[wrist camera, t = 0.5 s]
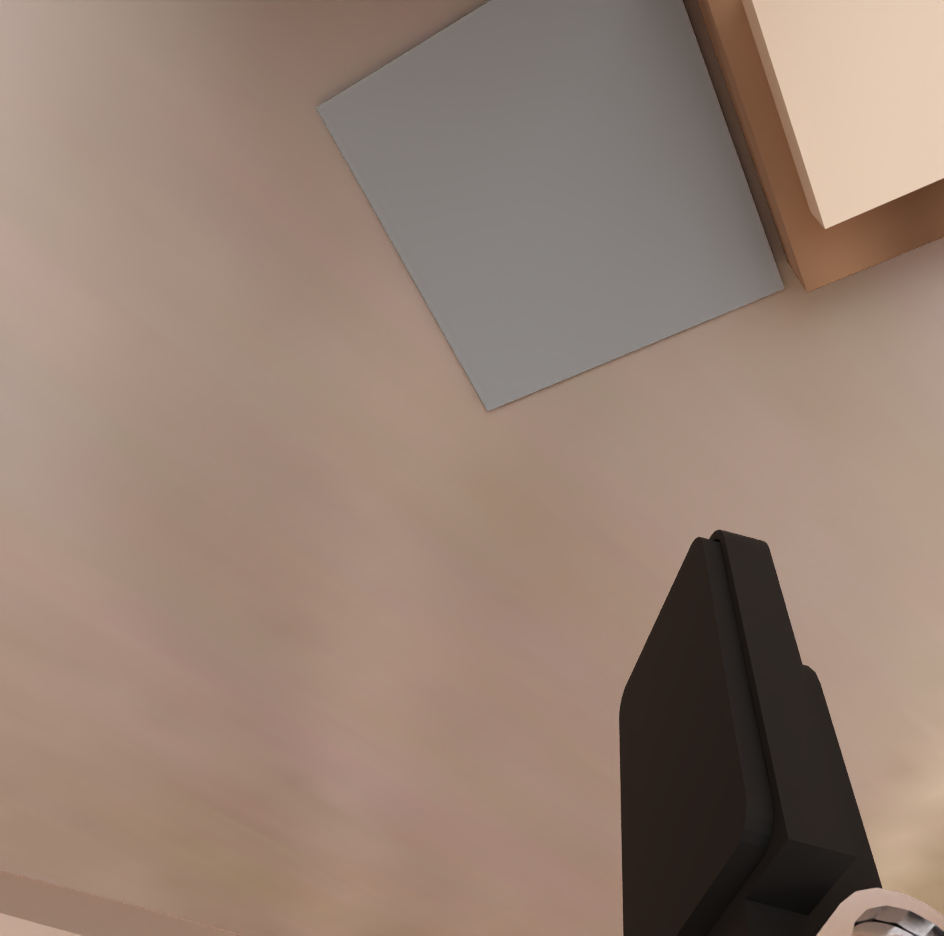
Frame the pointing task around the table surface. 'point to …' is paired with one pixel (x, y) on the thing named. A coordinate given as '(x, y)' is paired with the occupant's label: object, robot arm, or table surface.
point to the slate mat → (557, 185)
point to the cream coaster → (856, 96)
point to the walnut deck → (801, 234)
